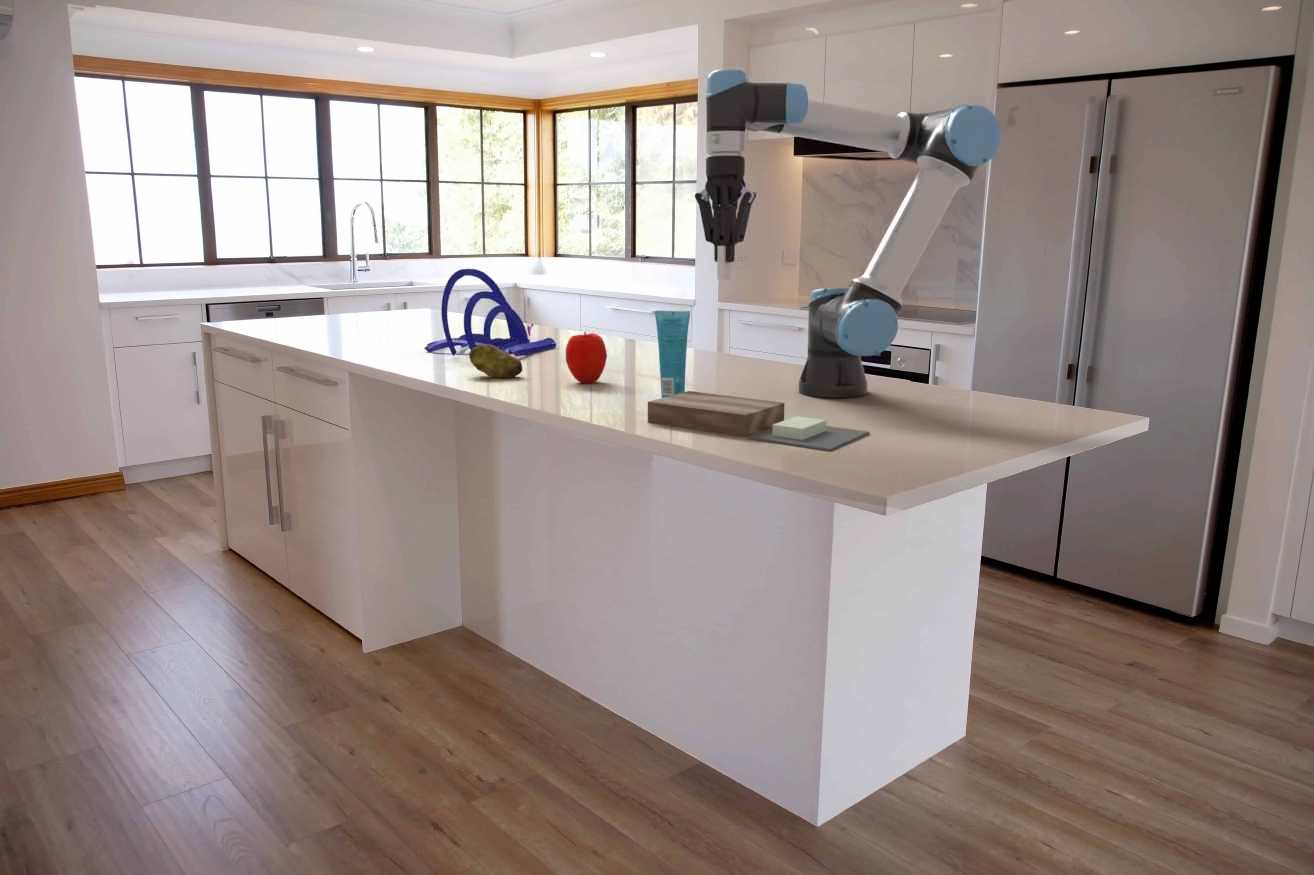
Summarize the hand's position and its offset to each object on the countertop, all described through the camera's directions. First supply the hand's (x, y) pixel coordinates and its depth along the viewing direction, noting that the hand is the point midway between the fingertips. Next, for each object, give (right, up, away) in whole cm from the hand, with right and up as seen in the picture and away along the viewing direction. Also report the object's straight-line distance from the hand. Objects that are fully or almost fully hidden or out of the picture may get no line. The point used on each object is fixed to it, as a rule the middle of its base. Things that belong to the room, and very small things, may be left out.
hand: (724, 278), depth 191 cm
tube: (-10, -24, +16) cm, 30 cm away
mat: (+14, -31, -18) cm, 39 cm away
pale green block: (+12, -29, -18) cm, 36 cm away
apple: (-30, -19, +38) cm, 52 cm away
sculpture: (-62, -6, +93) cm, 112 cm away
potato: (-53, -17, +47) cm, 73 cm away
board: (-2, -29, -7) cm, 30 cm away
